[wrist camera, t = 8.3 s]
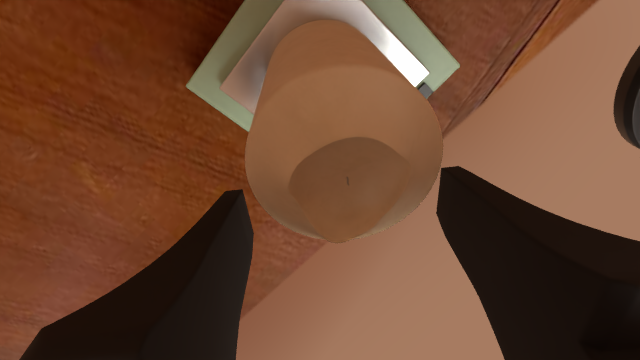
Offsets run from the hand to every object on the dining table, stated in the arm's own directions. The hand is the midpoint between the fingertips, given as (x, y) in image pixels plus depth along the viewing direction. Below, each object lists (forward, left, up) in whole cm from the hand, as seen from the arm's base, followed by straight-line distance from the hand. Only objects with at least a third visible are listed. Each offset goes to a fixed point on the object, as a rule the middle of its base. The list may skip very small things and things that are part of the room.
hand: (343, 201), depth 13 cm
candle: (+3, 0, -7) cm, 7 cm away
